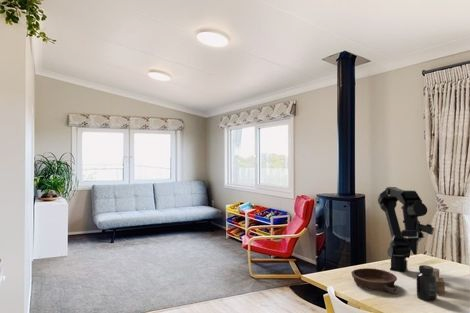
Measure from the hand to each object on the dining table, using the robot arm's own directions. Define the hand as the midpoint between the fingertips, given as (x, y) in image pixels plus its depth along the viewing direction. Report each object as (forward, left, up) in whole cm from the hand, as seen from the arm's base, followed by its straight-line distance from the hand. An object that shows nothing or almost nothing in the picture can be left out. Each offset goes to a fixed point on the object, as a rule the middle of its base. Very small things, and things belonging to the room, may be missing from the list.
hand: (415, 254), depth 150 cm
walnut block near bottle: (+9, -6, -12) cm, 16 cm away
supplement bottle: (+7, -16, -12) cm, 21 cm away
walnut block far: (+5, +7, -12) cm, 15 cm away
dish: (-13, -15, -12) cm, 23 cm away
